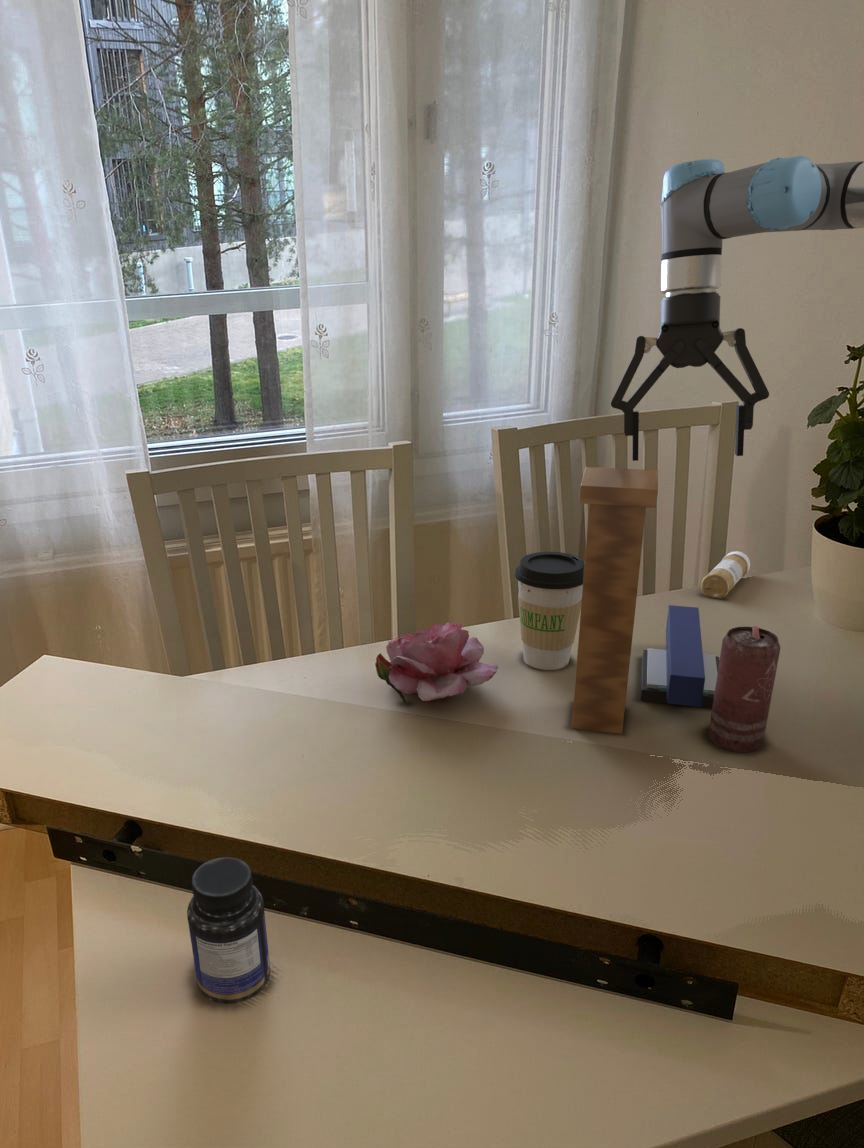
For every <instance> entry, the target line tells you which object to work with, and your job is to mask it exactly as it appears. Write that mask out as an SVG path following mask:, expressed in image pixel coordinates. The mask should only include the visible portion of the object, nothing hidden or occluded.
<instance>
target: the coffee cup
mask: <svg viewBox="0 0 864 1148" xmlns="http://www.w3.org/2000/svg"><path fill="white" fill-rule="evenodd" d="M584 564H585V560H583V559H582V558H581V557H578V556H577V555H574V554H572V553H571V554H570V553H567V552H562V551H561V552H560V551H539V552H533V553H529V554H526V555H524V556H523V557H522V558H521V559H520V561H519V564H518V565H517V566H516V568H515V572H514V577H515V579H516V580H517V584H518V593H517V600H518V613H519V624H520V625H519V627H520V637H521V641H522V653H523V661H524V663H525V664H527V665H528V666H529V667H532V668H535V669H537V670H543V671H554V670H560V669H562V668H565V667H566V666H568V665H569V662H570V658H571V653H572V649H573V645H574V642H575V640H576V639H575V638H576V634H577V629H578V625H579V624H578V623H579V621H580V615H581V602H582V590H583V577H584Z"/></svg>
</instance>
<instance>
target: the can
mask: <svg viewBox="0 0 864 1148" xmlns="http://www.w3.org/2000/svg"><path fill="white" fill-rule="evenodd" d="M780 653H781V644H780V642H779V638H778V636H777V635H776V634H775V633H774V632H771V631H770V630H768V629H765V628H761V627H758V626H756V625H755V626H737V627H732V628H730V629H728V631H726V634H725V636H723V638H722V642H721V649H720V655H719V667H718V673H717V680H716V687H715V693H714V700H713V706H712V708H711V714H710V720H709V727H708V739H709V740H710V741H711V742H712V743H713V744H714V745H715V746H716V747H719V748H721V749H723V750H726V751H730V752H734V753H752V752H755V751H757V750H759V749H761V748H762V746H763V744H764V741H765V735H766V729H767V723H768V719H769V715H770V714H769V713H770V708H771V702H772V696H773V691H774V687H775V681H776V675H777V669H778V663H779V658H780Z"/></svg>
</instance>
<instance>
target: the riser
mask: <svg viewBox="0 0 864 1148" xmlns="http://www.w3.org/2000/svg"><path fill="white" fill-rule="evenodd" d="M658 494H659V470H658V469H637V468H617V467H597V466H596V467H593V466H585V468H584V472H583V475H582V480H581V483H580V489H579V500H578V501H579V504H582V505H588V514H587V525H586V539H585V552H584V577H583V590H582V602H581V610H580V615H579V628H578V641H577V642H578V643H577V655H576V665H575V666H576V668H575V679H574V680H575V681H574V693H573V705H572V706H573V707H572V710H573V711H572V718H571V719H572V720H571V729H577V730H585V731H593V732H601V733H602V732H603V733H612V734H621V735H622V734H623V729H624V720H625V710H626V702H627V701H626V700H627V692H628V683H629V672H630V663H631V654H632V646H633V645H632V644H633V636H634V628H635V627H634V626H635V616H636V606H637V599H638V588H639V578H640V571H641V570H640V569H641V561H642V560H641V559H642V551H643V540H644V530H645V522H646V513H647V508H654V509H656V508H657V505H658V496H659V495H658Z"/></svg>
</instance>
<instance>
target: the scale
mask: <svg viewBox="0 0 864 1148" xmlns="http://www.w3.org/2000/svg"><path fill="white" fill-rule="evenodd" d="M719 660H720V656H716V653H704V652H703V661H704V671H705V683H704V690H703V697H702V704H701V707H700V708H711V709H712V706H713V700H714V693H715V687H716V680H717V673H718V667H719ZM640 676H641V681H640V701H642V702H643V701H644V702H654V703H663V704H668V703H667V674H666V649H663V648H651V647H648V648H647V649H643V650H642V655H641V675H640Z"/></svg>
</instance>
